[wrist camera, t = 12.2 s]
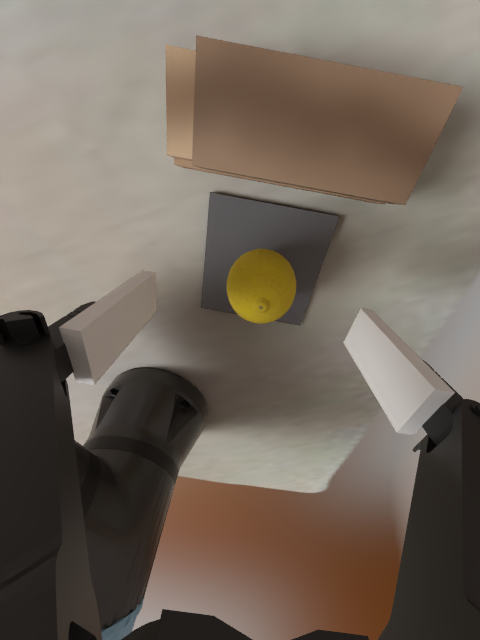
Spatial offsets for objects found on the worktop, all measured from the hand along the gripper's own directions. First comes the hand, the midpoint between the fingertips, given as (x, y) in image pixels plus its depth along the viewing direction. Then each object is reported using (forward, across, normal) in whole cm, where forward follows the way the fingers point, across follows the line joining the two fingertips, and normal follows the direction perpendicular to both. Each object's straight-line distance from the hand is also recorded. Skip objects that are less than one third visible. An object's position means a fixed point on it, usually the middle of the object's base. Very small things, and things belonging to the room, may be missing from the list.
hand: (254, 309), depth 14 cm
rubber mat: (+9, 0, 0) cm, 9 cm away
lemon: (+8, 0, 0) cm, 8 cm away
